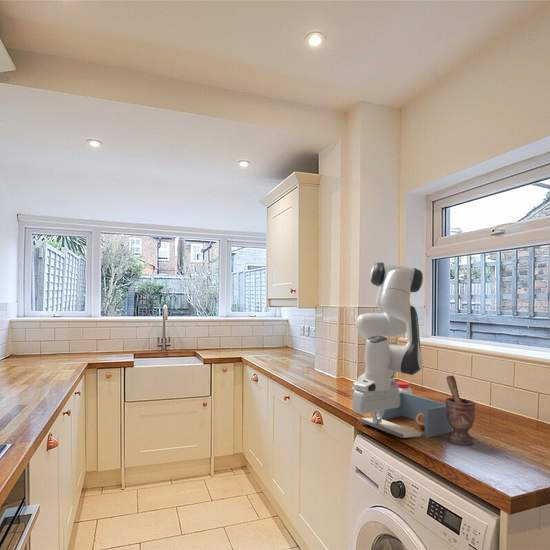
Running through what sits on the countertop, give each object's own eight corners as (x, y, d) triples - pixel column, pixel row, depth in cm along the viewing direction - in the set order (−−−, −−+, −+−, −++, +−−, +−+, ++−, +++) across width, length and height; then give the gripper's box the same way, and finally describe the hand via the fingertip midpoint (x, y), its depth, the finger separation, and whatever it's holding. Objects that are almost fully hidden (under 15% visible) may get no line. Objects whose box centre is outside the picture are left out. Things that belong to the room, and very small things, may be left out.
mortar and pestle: (433, 435, 133) (433, 375, 134) (452, 432, 136) (452, 374, 137) (460, 447, 122) (460, 382, 124) (481, 444, 126) (480, 381, 127)
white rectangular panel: (378, 420, 148) (359, 421, 143) (378, 417, 148) (359, 418, 143) (421, 436, 131) (401, 437, 127) (421, 433, 132) (401, 434, 127)
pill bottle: (413, 409, 165) (413, 382, 166) (409, 413, 158) (409, 385, 159) (395, 406, 169) (395, 380, 170) (390, 410, 162) (390, 383, 163)
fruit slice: (443, 432, 136) (443, 417, 137) (428, 434, 134) (428, 419, 134) (425, 425, 144) (425, 411, 145) (411, 426, 142) (411, 412, 142)
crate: (377, 419, 150) (377, 395, 150) (401, 414, 157) (401, 391, 157) (427, 437, 131) (427, 410, 131) (452, 431, 137) (452, 405, 138)
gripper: (390, 378, 147) (390, 416, 146) (349, 384, 136) (349, 424, 135) (404, 382, 141) (404, 421, 141) (362, 387, 131) (362, 430, 130)
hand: (377, 423), depth 138 cm, fingers closed
